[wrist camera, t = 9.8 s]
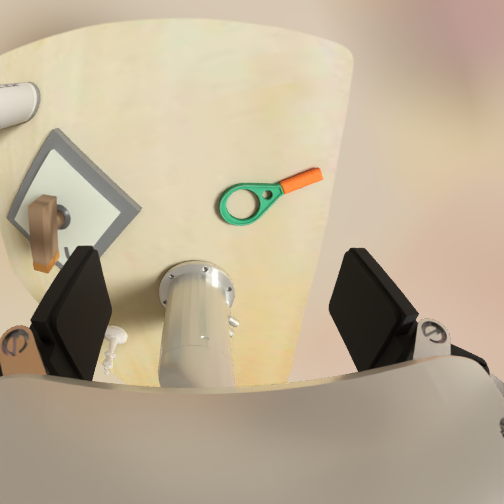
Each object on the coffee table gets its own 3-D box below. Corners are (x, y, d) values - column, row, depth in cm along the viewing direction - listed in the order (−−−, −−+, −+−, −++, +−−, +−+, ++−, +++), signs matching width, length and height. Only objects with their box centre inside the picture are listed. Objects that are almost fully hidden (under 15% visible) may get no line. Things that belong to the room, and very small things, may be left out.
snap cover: (141, 207, 37) (137, 215, 34) (82, 278, 41) (77, 288, 39) (58, 127, 28) (48, 130, 26) (11, 214, 32) (3, 220, 30)
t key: (51, 187, 30) (27, 206, 24) (65, 189, 30) (42, 209, 25) (53, 244, 34) (34, 269, 28) (66, 247, 35) (48, 273, 29)
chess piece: (107, 340, 49) (97, 379, 41) (102, 323, 47) (89, 363, 38) (129, 342, 50) (121, 382, 42) (125, 326, 48) (115, 367, 39)
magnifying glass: (229, 229, 41) (230, 234, 39) (211, 194, 38) (211, 198, 36) (323, 189, 40) (327, 193, 38) (311, 152, 36) (316, 155, 35)
